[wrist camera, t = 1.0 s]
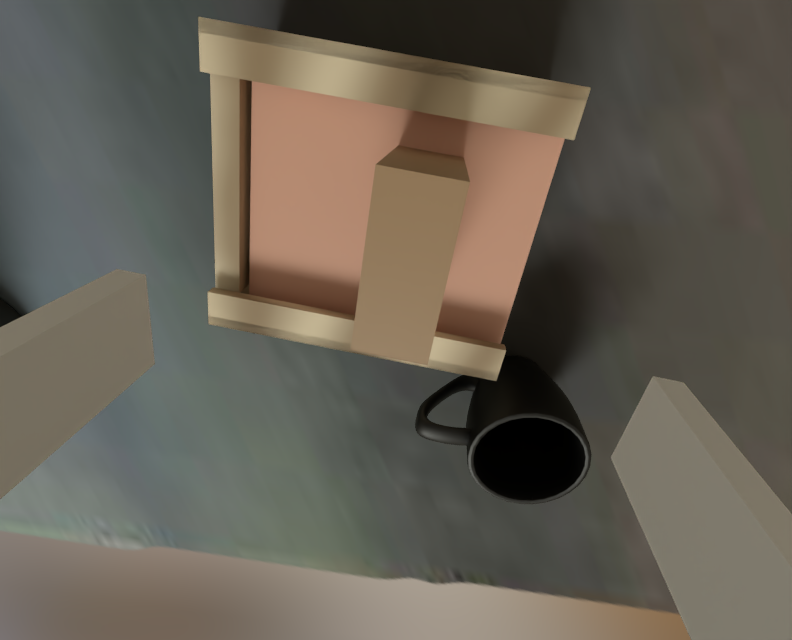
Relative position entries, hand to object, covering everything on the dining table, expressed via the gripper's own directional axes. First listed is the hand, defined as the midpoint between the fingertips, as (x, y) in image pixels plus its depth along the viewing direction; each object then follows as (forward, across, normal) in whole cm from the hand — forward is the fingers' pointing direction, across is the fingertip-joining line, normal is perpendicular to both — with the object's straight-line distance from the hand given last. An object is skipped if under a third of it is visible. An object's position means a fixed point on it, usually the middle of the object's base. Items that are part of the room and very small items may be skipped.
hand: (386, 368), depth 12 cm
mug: (+24, +8, -14) cm, 29 cm away
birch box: (+23, -3, 0) cm, 23 cm away
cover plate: (+16, -2, 0) cm, 16 cm away
